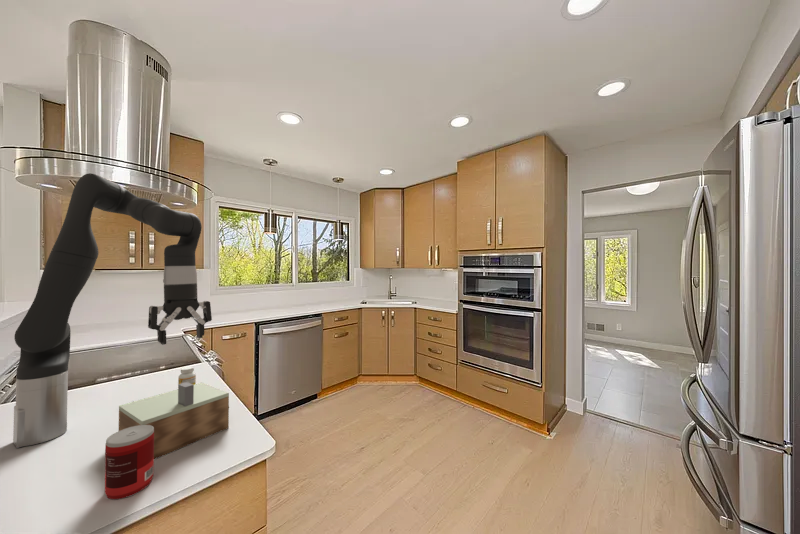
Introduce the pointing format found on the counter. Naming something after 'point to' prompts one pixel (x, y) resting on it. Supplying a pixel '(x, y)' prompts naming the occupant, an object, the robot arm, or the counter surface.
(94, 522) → the counter surface
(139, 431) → the canned food
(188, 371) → the supplement bottle
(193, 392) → the lid
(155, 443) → the storage box
